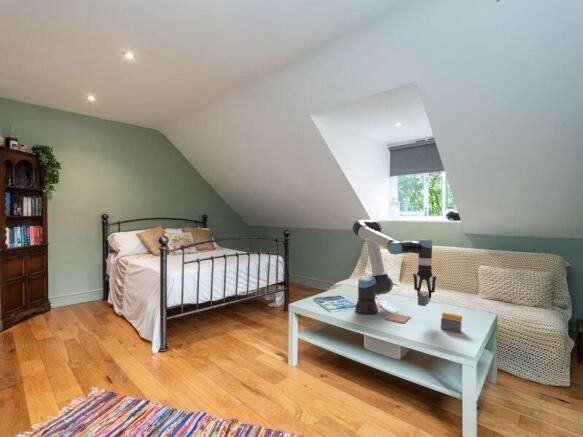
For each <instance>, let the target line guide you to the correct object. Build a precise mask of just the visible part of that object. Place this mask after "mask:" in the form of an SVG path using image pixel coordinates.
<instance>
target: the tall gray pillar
mask: <svg viewBox="0 0 583 437" xmlns="http://www.w3.org/2000/svg"><path fill="white" fill-rule="evenodd" d="M427 293H428V291H425V290H423V291H422V293H420V294H419V295H418V296H417V306H421V307H426V306H427V305H428V304H427ZM430 302H431V298H430V299H429V303H430Z"/></svg>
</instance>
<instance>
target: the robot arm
mask: <svg viewBox="0 0 583 437" xmlns="http://www.w3.org/2000/svg"><path fill="white" fill-rule="evenodd" d="M351 228H352V233H353V234H354V235H355V237H358V238H361V239H363V240H364V241H365V242H366V247H367V252H368V257H369V262H370V267H371V273H372V274H371V275H368V276H362V277H360V278H359V279H358V283H357V302H356V304H355V309H354V310H355V312H356V313H358V314H360V315H364V316H365V315H367V316H369V315H370V316H372V315H377V314H378V313H379V309H378V306H377V302H376V296H379V295H386V294H389V293H391V292H392V290H393V286H394V283H393V280H392V279H391V277H389V275H388V273H387V272H386V271H385V266H384V262H383V258H382V252H381V248H384V249H385V250H387V252H388V253H389V254H390V255H397V256H398V255H402V254H416V255H417V254H418V259H417V260H418V265H417V267H418V268H417V272H414V273H413V274H412V276H413V283H414V284H413V287H414V288H413V289H414V290H415V291H417V292H416V295H417V297H418V295H419V294H420V293H422V292H423V291H422V290H421V288H422V284H423V282H424V280H425V282H426V286H427V292H428V293H427V305H429V304H430V302H429V299H430V300H431V299H432V293H433V294H434V293H435V291H436V282H437V278H438V276H437V275H434V274H433V273H432V271H433V269H432V267H433V266H432V265H433V264H432V262H433V241H432V239H427V238H425V239H424V238H420V239H418V241H414V240H404V241H398V240H396V239H395V238H391V237H389V236H387V235H385V234H382V225H381V223H380V222H379V221H377V220H375V219H374V220H373V219H359V220H355V222H354V223H353V224H352V227H351ZM418 277H419V282H418ZM430 279H431V280H432V282H431V280H430ZM431 283H432V284H431Z"/></svg>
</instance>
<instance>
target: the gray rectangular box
mask: <svg viewBox="0 0 583 437" xmlns="http://www.w3.org/2000/svg"><path fill="white" fill-rule="evenodd" d="M462 323H463V321H462V322H458V321H453V320H448V319H443V318H442V317H441V319H440V330H444V331H448V332H453V333H456V334H457V333H458V334H461V333H462V327H463V326H462Z"/></svg>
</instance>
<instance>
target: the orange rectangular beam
mask: <svg viewBox="0 0 583 437" xmlns="http://www.w3.org/2000/svg"><path fill="white" fill-rule="evenodd" d="M442 318H443V319H448V320H453V321H458V322H462V323H463V315H461V314H456V313H452V312H451V313H450V312H447V311H446V312H445V311H443V312H441V319H442Z"/></svg>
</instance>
